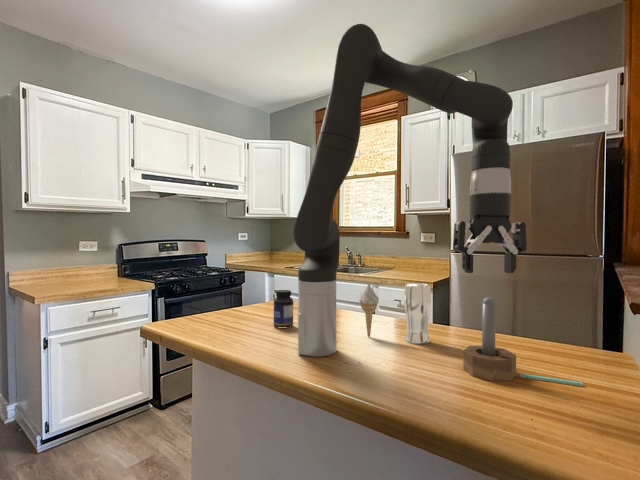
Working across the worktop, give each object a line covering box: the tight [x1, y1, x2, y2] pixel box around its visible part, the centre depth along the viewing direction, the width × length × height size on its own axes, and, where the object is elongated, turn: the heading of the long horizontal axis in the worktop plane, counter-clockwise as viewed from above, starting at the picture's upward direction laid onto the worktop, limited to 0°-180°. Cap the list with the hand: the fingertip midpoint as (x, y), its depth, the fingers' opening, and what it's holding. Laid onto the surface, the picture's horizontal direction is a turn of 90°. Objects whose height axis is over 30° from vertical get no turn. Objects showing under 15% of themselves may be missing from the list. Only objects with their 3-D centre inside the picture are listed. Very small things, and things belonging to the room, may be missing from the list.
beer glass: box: [403, 282, 432, 346], centre depth 92 cm, size 7×7×15 cm
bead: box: [462, 345, 517, 382], centre depth 71 cm, size 9×9×4 cm
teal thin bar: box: [519, 373, 584, 387], centre depth 66 cm, size 10×1×1 cm, turn 64°
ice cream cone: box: [358, 283, 380, 338], centre depth 96 cm, size 6×6×15 cm
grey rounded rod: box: [481, 296, 496, 357], centre depth 71 cm, size 2×2×15 cm
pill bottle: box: [273, 289, 294, 328], centre depth 109 cm, size 6×6×11 cm
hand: (489, 273), depth 71 cm, fingers open, 8 cm apart
